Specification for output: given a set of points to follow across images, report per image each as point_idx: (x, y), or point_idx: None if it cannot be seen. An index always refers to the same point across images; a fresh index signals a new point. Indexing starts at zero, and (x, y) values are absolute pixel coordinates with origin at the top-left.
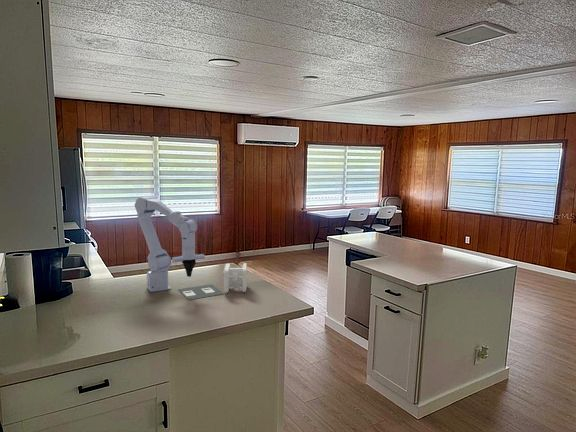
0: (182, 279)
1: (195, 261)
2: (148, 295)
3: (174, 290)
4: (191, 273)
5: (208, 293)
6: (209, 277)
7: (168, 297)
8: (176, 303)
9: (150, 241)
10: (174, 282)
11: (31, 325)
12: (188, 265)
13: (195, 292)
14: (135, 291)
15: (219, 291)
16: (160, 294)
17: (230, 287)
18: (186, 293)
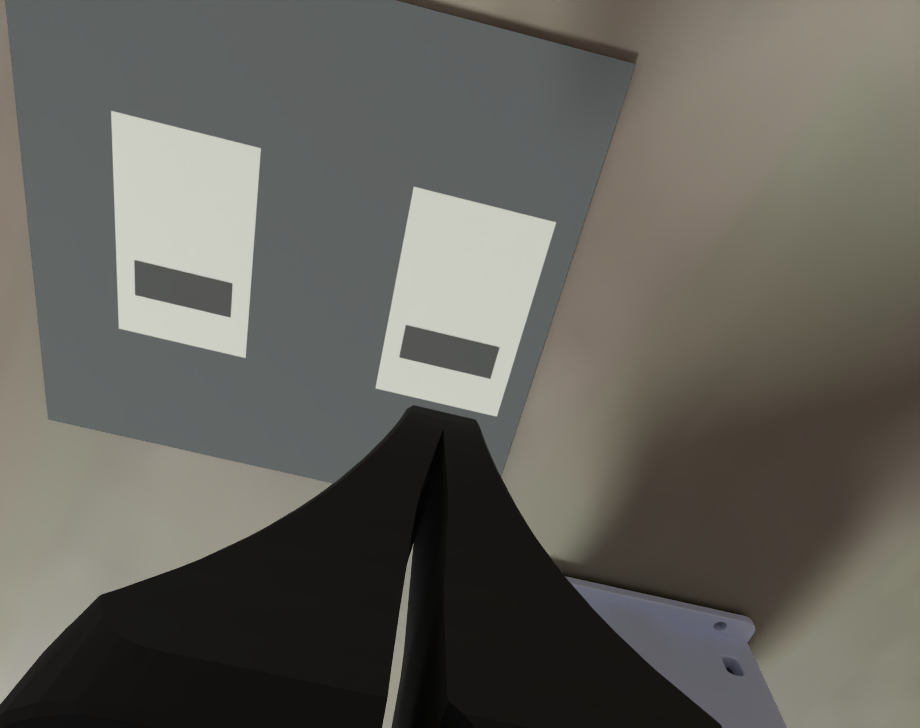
0: None
1: (11, 721)
2: (836, 556)
3: (527, 518)
4: (394, 429)
5: (234, 109)
6: (5, 616)
7: (740, 363)
8: (854, 55)
9: None
10: (389, 693)
11: None
12: (518, 636)
13: (373, 283)
14: (825, 708)
15: (42, 72)
16: (727, 506)
17: None
18: (490, 329)
